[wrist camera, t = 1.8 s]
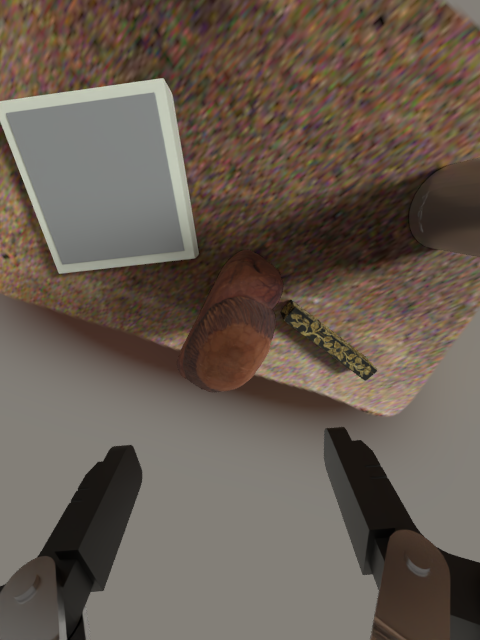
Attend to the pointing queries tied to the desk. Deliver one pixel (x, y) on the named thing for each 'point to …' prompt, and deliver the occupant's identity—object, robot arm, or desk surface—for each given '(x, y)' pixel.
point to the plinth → (104, 174)
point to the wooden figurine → (233, 325)
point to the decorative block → (327, 340)
